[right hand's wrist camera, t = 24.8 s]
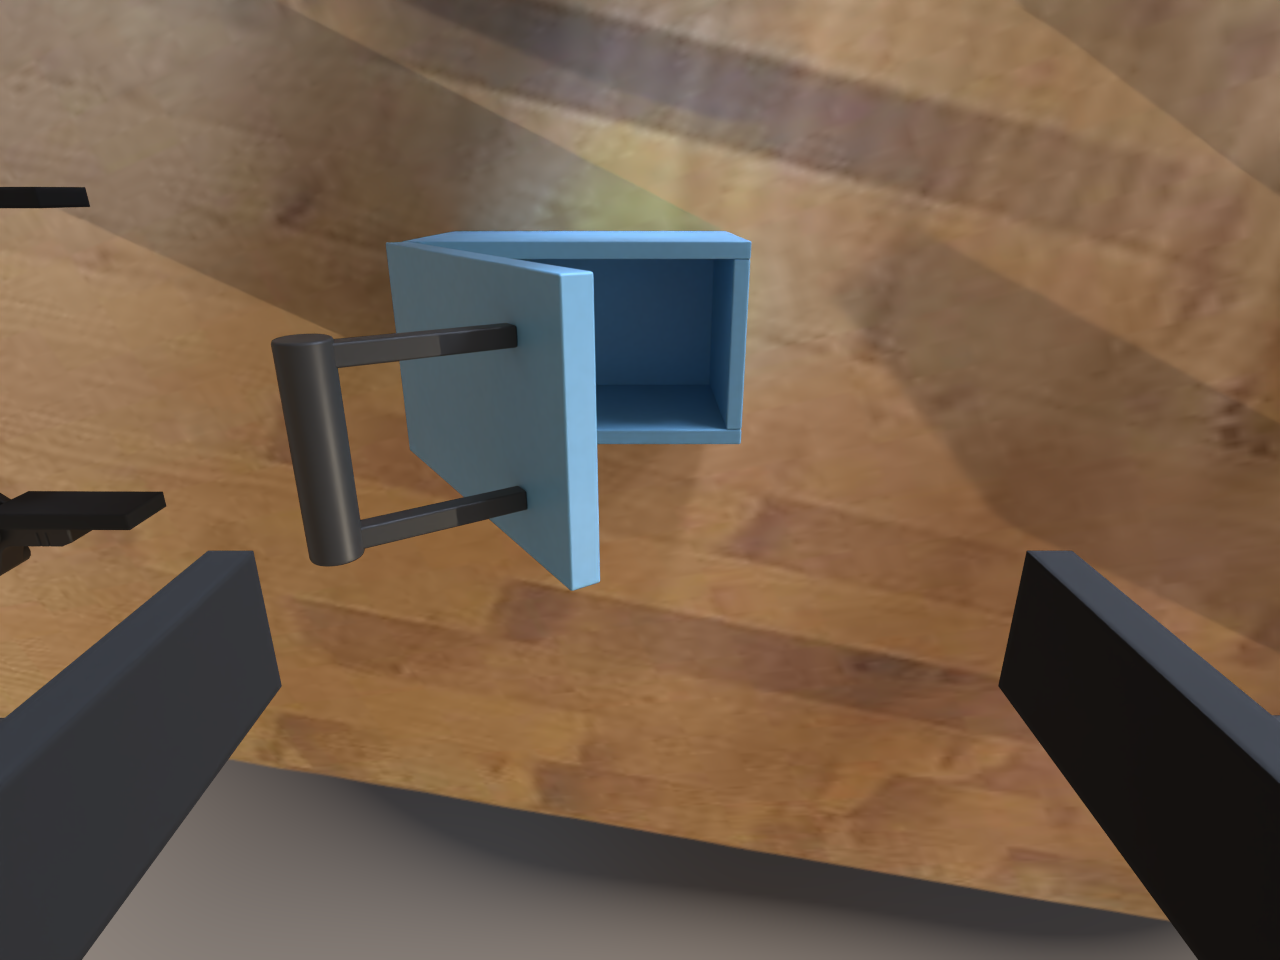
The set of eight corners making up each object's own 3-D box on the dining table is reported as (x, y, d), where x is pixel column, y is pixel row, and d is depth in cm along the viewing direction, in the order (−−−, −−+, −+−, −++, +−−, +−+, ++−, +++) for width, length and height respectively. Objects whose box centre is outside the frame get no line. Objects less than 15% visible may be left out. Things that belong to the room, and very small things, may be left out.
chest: (726, 231, 43) (751, 241, 34) (719, 393, 47) (740, 444, 37) (454, 231, 43) (401, 241, 34) (468, 393, 47) (423, 444, 37)
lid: (594, 271, 20) (281, 290, 16) (601, 582, 24) (344, 663, 20) (409, 241, 33) (209, 248, 29) (431, 446, 37) (255, 477, 33)
